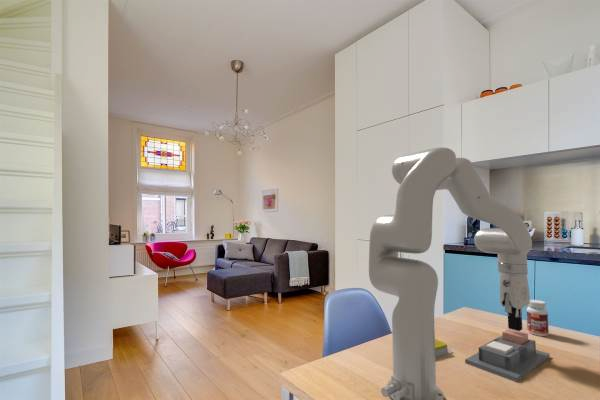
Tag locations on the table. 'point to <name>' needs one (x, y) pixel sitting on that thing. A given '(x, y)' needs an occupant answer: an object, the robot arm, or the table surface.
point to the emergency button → (441, 348)
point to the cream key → (499, 347)
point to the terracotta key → (515, 336)
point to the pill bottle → (537, 318)
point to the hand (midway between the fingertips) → (515, 329)
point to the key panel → (509, 359)
